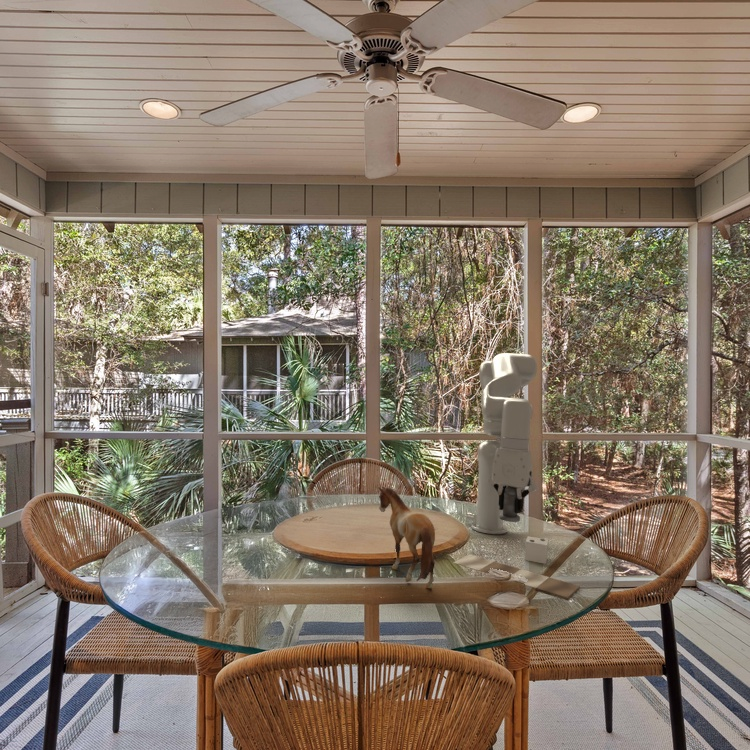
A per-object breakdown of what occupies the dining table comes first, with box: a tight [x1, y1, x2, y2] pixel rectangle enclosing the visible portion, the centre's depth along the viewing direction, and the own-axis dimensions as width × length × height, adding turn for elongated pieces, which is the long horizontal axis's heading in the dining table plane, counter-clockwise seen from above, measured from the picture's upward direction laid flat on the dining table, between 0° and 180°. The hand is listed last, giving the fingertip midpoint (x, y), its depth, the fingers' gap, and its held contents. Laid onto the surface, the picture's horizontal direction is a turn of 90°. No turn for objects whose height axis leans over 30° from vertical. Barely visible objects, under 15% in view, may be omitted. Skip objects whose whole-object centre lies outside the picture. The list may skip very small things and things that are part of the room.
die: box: [524, 536, 549, 565], centre depth 156 cm, size 6×6×6 cm
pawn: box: [500, 486, 521, 523], centre depth 143 cm, size 5×5×9 cm
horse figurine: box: [378, 486, 436, 589], centre depth 137 cm, size 31×8×21 cm, turn 20°
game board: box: [452, 553, 580, 601], centre depth 142 cm, size 32×10×1 cm, turn 53°
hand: (510, 510), depth 143 cm, fingers closed on pawn, 3 cm apart
